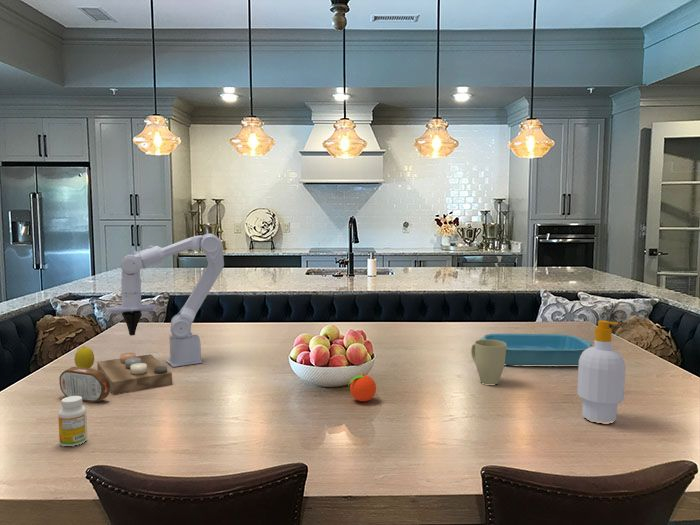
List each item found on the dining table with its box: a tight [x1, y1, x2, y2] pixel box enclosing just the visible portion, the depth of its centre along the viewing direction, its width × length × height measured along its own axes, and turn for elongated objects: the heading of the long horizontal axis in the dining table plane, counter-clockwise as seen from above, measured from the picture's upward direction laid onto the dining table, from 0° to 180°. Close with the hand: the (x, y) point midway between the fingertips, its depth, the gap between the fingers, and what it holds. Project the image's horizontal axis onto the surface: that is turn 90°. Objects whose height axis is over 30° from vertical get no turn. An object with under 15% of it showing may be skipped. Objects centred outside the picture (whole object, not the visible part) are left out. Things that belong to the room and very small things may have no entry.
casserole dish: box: [478, 333, 593, 365], centre depth 185 cm, size 37×22×7 cm, turn 86°
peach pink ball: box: [119, 352, 137, 364], centre depth 169 cm, size 4×4×5 cm
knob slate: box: [125, 358, 141, 369], centre depth 163 cm, size 4×4×5 cm
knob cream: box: [130, 363, 147, 375], centre depth 157 cm, size 4×4×5 cm
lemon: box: [74, 345, 95, 369], centre depth 170 cm, size 6×6×8 cm
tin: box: [59, 366, 111, 403], centre depth 145 cm, size 15×3×8 cm, turn 71°
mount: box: [96, 353, 173, 395], centre depth 163 cm, size 16×24×5 cm, turn 34°
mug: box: [470, 339, 507, 385], centre depth 161 cm, size 11×10×12 cm
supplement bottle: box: [57, 396, 88, 447], centre depth 118 cm, size 5×5×10 cm
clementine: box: [347, 374, 377, 403], centre depth 145 cm, size 8×7×7 cm
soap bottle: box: [576, 319, 626, 422], centre depth 132 cm, size 10×10×24 cm
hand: (132, 334), depth 175 cm, fingers closed
